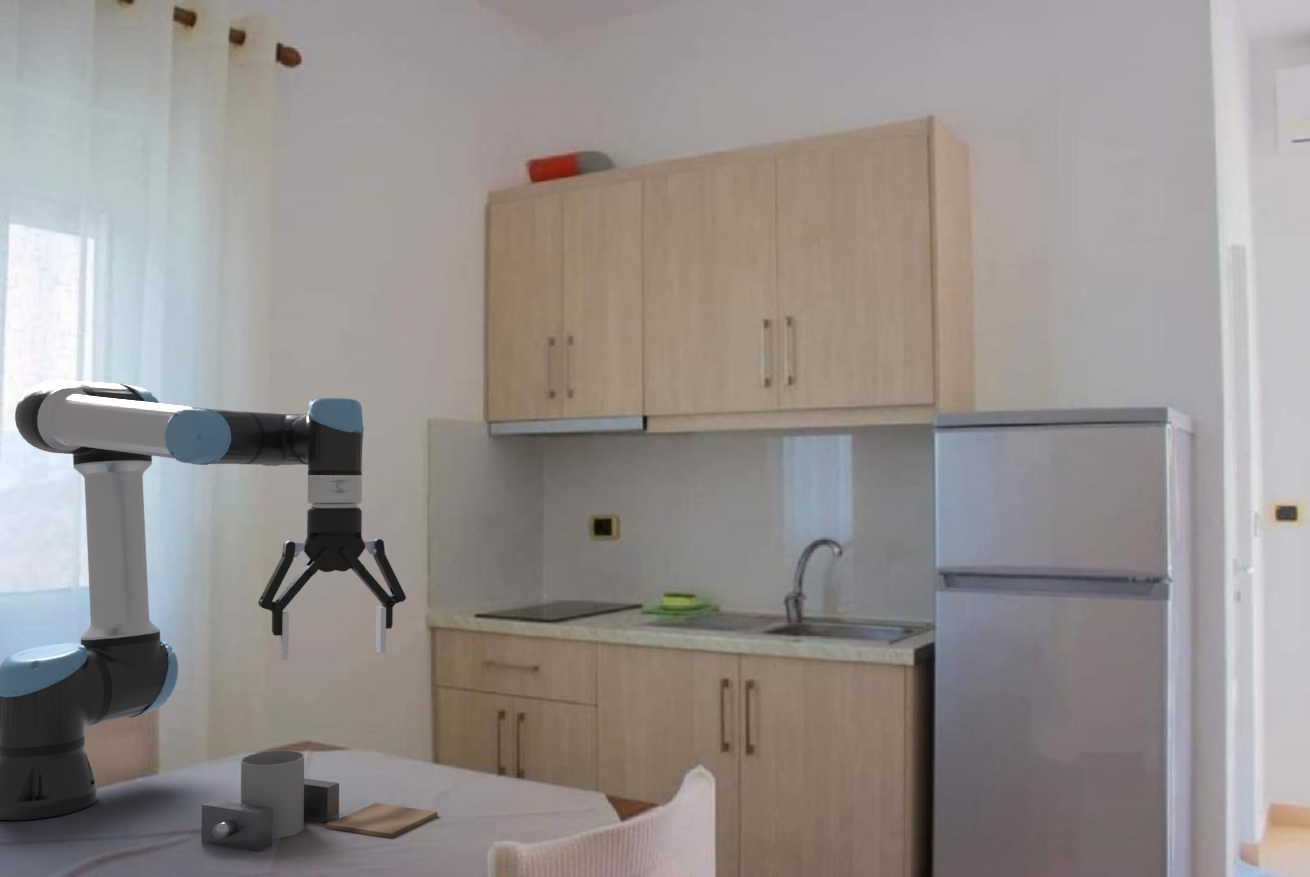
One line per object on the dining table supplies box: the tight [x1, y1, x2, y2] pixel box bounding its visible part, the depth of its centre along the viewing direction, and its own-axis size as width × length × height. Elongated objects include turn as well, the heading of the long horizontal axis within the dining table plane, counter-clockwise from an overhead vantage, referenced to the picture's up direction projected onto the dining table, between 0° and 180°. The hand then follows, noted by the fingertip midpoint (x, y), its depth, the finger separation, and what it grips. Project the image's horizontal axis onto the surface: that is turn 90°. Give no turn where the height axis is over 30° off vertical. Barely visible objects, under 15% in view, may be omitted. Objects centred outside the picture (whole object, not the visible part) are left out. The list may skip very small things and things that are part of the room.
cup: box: [240, 750, 305, 840], centre depth 157 cm, size 8×8×10 cm
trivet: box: [325, 802, 439, 839], centre depth 161 cm, size 11×11×1 cm
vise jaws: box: [200, 777, 340, 853], centre depth 157 cm, size 10×20×5 cm, turn 156°
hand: (333, 655), depth 161 cm, fingers open, 13 cm apart
